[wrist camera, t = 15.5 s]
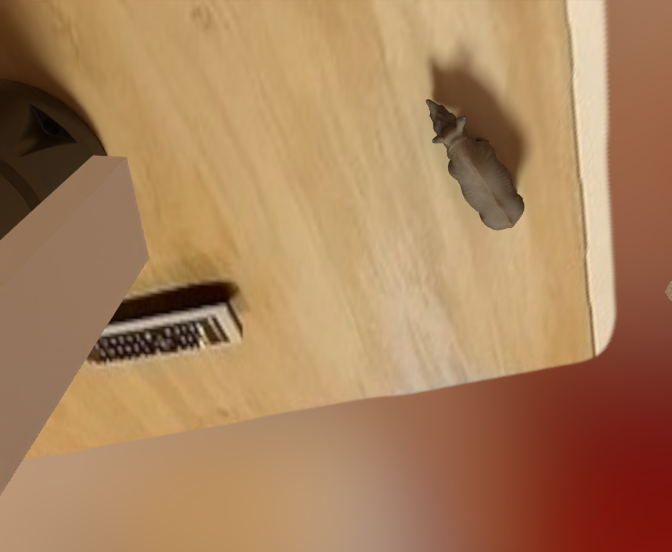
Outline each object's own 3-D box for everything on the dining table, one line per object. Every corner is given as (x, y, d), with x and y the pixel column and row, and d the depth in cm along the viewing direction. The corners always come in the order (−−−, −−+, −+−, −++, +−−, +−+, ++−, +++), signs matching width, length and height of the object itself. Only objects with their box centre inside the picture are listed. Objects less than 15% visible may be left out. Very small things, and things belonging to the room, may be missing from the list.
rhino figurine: (448, 70, 41) (458, 93, 36) (525, 194, 47) (542, 227, 42) (405, 101, 42) (409, 127, 38) (484, 216, 49) (496, 251, 44)
